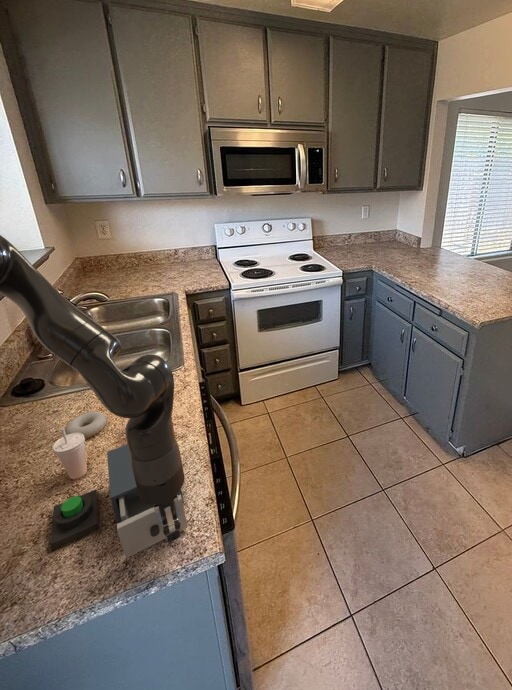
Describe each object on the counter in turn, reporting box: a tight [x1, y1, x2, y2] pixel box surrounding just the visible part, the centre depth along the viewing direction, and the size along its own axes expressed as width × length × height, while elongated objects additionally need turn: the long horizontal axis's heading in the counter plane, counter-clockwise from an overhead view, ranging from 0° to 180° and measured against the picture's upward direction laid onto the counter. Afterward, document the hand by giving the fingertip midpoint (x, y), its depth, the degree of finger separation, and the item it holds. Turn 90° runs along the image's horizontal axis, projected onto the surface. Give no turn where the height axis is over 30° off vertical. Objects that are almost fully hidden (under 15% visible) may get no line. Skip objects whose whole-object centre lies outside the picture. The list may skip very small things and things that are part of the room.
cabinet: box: [106, 443, 184, 524], centre depth 81 cm, size 15×13×10 cm
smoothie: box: [51, 427, 88, 480], centre depth 86 cm, size 6×6×14 cm
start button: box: [61, 495, 83, 517], centre depth 75 cm, size 4×4×2 cm
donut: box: [65, 411, 107, 439], centre depth 103 cm, size 10×4×10 cm
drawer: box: [116, 490, 188, 559], centre depth 74 cm, size 15×11×8 cm
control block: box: [49, 489, 100, 551], centre depth 76 cm, size 10×8×4 cm
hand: (173, 537), depth 67 cm, fingers closed
